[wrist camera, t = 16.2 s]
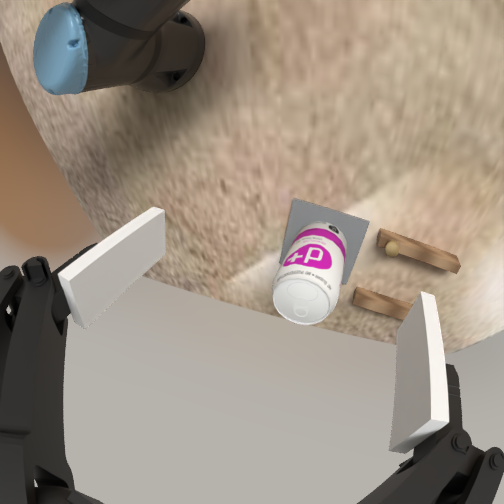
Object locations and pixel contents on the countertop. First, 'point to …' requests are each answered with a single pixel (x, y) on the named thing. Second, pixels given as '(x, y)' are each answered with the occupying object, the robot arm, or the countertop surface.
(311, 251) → the supplement can
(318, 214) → the mat
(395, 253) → the cradle
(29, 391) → the robot arm
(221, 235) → the countertop surface
